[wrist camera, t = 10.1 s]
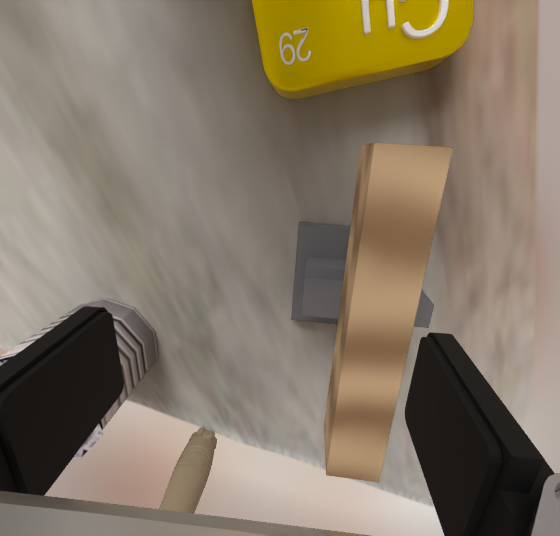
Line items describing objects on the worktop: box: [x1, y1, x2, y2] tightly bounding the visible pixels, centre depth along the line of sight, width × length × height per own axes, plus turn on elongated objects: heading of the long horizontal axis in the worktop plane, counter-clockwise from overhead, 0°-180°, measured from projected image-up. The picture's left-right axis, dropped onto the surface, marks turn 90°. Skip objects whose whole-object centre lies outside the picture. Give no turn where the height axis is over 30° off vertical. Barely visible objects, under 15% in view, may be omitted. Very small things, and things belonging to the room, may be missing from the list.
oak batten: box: [324, 143, 453, 482], centre depth 23 cm, size 24×4×5 cm, turn 176°
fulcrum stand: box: [291, 222, 434, 328], centre depth 29 cm, size 10×12×8 cm
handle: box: [159, 428, 217, 513], centre depth 35 cm, size 5×6×15 cm
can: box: [0, 298, 158, 457], centre depth 33 cm, size 11×11×12 cm
